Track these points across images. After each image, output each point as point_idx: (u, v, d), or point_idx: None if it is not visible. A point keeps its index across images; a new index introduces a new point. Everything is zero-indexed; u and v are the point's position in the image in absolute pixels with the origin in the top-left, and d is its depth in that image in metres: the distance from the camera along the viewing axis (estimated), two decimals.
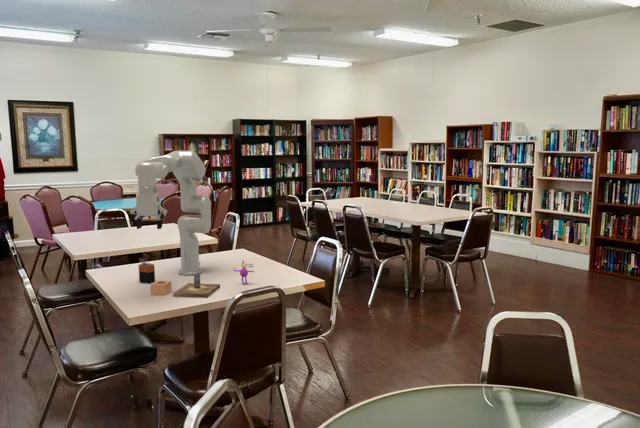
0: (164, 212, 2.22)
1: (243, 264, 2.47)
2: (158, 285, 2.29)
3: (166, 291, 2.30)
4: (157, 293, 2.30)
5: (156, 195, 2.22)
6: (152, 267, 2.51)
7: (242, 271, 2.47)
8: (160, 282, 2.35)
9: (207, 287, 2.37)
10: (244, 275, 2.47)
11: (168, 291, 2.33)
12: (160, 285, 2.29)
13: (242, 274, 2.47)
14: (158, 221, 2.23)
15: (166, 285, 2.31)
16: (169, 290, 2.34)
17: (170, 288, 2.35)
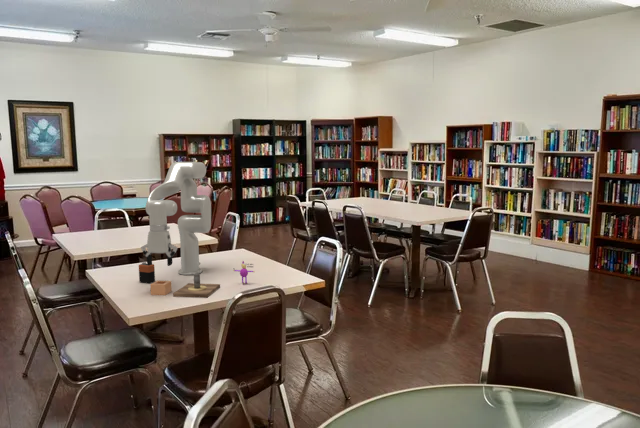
0: (174, 249, 2.29)
1: (243, 264, 2.47)
2: (158, 285, 2.29)
3: (166, 291, 2.30)
4: (157, 293, 2.30)
5: (167, 233, 2.29)
6: (152, 267, 2.51)
7: (242, 271, 2.47)
8: (160, 282, 2.35)
9: (207, 287, 2.37)
10: (244, 275, 2.47)
11: (168, 291, 2.33)
12: (160, 285, 2.29)
13: (242, 274, 2.47)
14: (168, 258, 2.29)
15: (166, 285, 2.31)
16: (169, 290, 2.34)
17: (170, 288, 2.35)
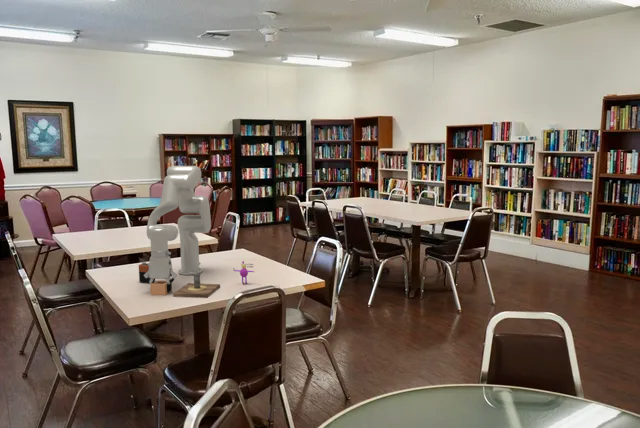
0: (174, 277, 2.31)
1: (243, 264, 2.47)
2: (158, 285, 2.29)
3: (166, 291, 2.30)
4: (157, 293, 2.30)
5: (168, 259, 2.30)
6: None
7: (242, 271, 2.47)
8: (160, 282, 2.35)
9: (207, 287, 2.37)
10: (244, 275, 2.47)
11: None
12: (160, 285, 2.29)
13: (242, 274, 2.47)
14: (168, 285, 2.31)
15: (166, 285, 2.31)
16: None
17: None
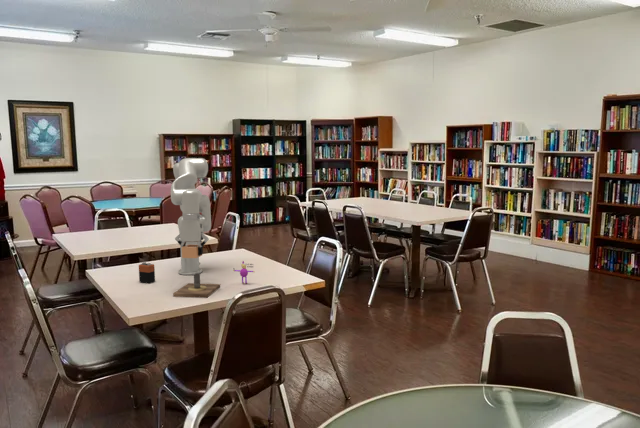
0: (205, 240, 2.30)
1: (243, 264, 2.47)
2: (189, 248, 2.29)
3: (197, 254, 2.30)
4: (188, 256, 2.29)
5: (199, 221, 2.30)
6: (152, 267, 2.51)
7: (242, 271, 2.47)
8: (191, 246, 2.35)
9: (207, 287, 2.37)
10: (244, 275, 2.47)
11: None
12: (191, 248, 2.29)
13: (242, 274, 2.47)
14: (199, 248, 2.31)
15: (197, 248, 2.30)
16: None
17: None
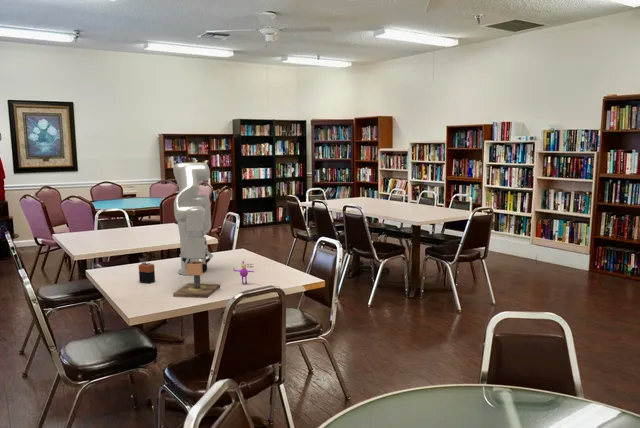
0: (210, 257, 2.32)
1: (243, 264, 2.47)
2: (194, 265, 2.30)
3: (201, 271, 2.31)
4: (193, 273, 2.31)
5: (204, 239, 2.31)
6: (152, 267, 2.51)
7: (242, 271, 2.47)
8: (195, 263, 2.36)
9: (207, 287, 2.37)
10: (244, 275, 2.47)
11: None
12: (196, 265, 2.30)
13: (242, 274, 2.47)
14: (203, 265, 2.32)
15: (202, 265, 2.31)
16: None
17: None
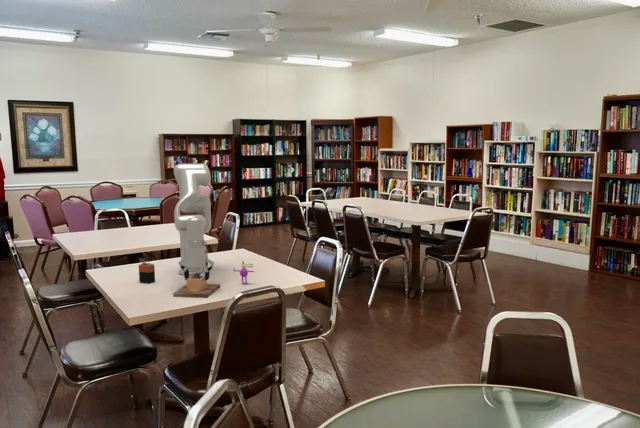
0: (212, 264, 2.32)
1: (243, 264, 2.47)
2: (194, 280, 2.31)
3: (202, 286, 2.32)
4: (193, 288, 2.32)
5: (204, 248, 2.32)
6: (152, 267, 2.51)
7: (242, 271, 2.47)
8: None
9: (207, 287, 2.37)
10: (244, 275, 2.47)
11: (204, 285, 2.34)
12: (196, 280, 2.31)
13: (242, 274, 2.47)
14: (206, 273, 2.32)
15: (202, 280, 2.32)
16: (205, 285, 2.36)
17: (205, 283, 2.37)
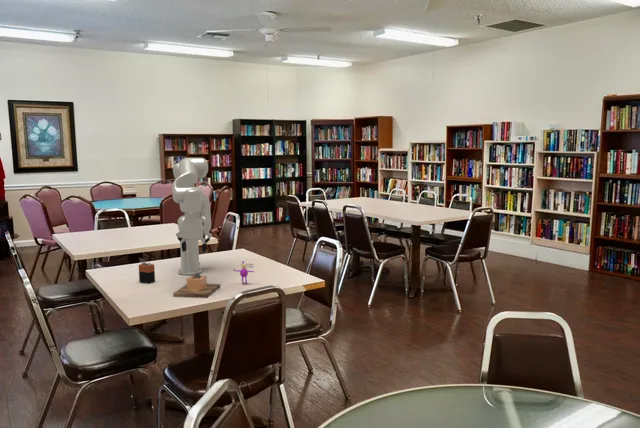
0: (209, 236, 2.32)
1: (243, 264, 2.47)
2: (194, 280, 2.31)
3: (202, 286, 2.32)
4: (193, 288, 2.32)
5: (201, 220, 2.32)
6: (152, 267, 2.51)
7: (242, 271, 2.47)
8: None
9: (207, 287, 2.37)
10: (244, 275, 2.47)
11: (204, 285, 2.34)
12: (196, 280, 2.31)
13: (242, 274, 2.47)
14: (203, 245, 2.33)
15: (202, 280, 2.32)
16: (205, 285, 2.36)
17: (205, 283, 2.37)
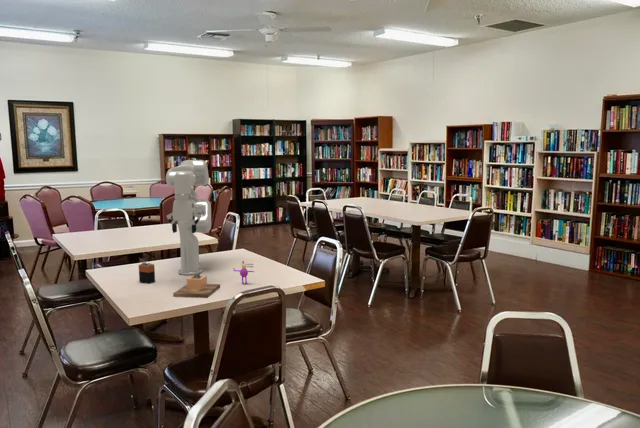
0: (198, 217, 2.42)
1: (243, 264, 2.47)
2: (194, 280, 2.31)
3: (202, 286, 2.32)
4: (193, 288, 2.32)
5: (191, 202, 2.41)
6: (152, 267, 2.51)
7: (242, 271, 2.47)
8: None
9: (207, 287, 2.37)
10: (244, 275, 2.47)
11: (204, 285, 2.34)
12: (196, 280, 2.31)
13: (242, 274, 2.47)
14: (193, 226, 2.42)
15: (202, 280, 2.32)
16: (205, 285, 2.36)
17: (205, 283, 2.37)
